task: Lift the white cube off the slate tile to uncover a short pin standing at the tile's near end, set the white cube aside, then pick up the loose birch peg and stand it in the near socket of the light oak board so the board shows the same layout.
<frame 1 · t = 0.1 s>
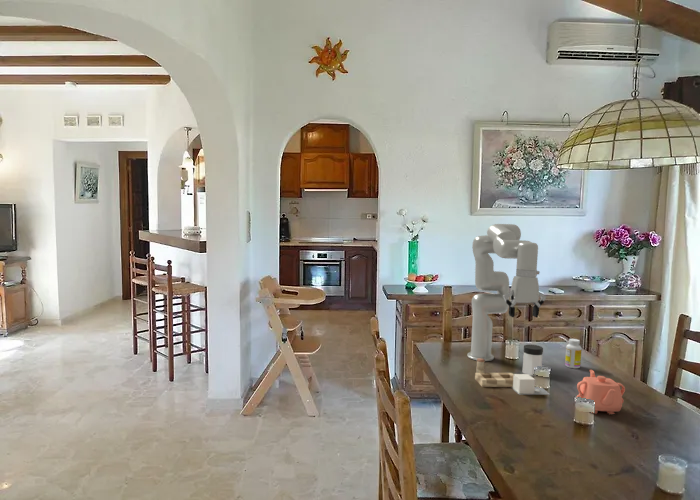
hand: (523, 316, 202), 31 cm above the table, tool pointing down, fingers open, 9 cm apart
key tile: (530, 391, 207), on the table
peg: (479, 377, 221), on the table
peg board: (496, 383, 215), on the table
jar: (531, 373, 229), on the table
supplement bottle: (572, 367, 240), on the table
white cube: (523, 390, 206), resting on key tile
teapot: (599, 410, 190), on the table
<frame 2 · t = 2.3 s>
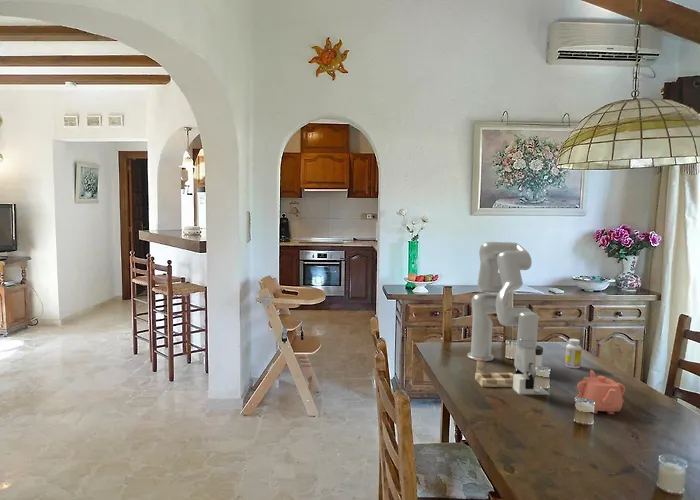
hand: (524, 384, 206), 3 cm above the table, tool pointing down, fingers open, 9 cm apart
nothing on the table moved.
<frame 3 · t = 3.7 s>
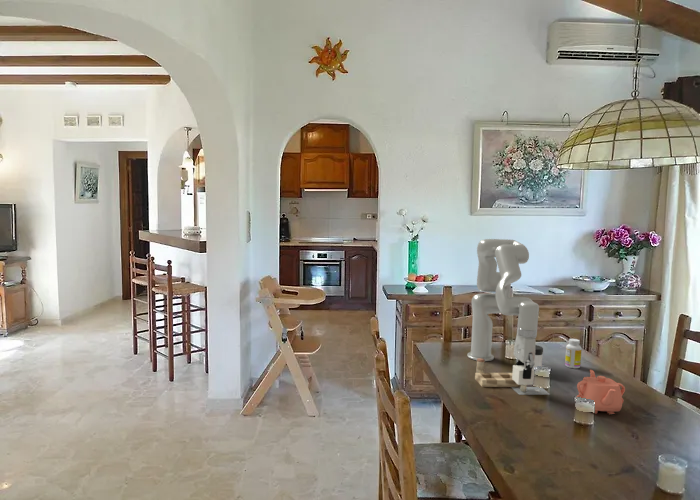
hand: (523, 375, 207), 6 cm above the table, tool pointing down, fingers closed on white cube, 6 cm apart
white cube: (522, 381, 207), point 4 cm above the table, touching gripper
everything else where it was.
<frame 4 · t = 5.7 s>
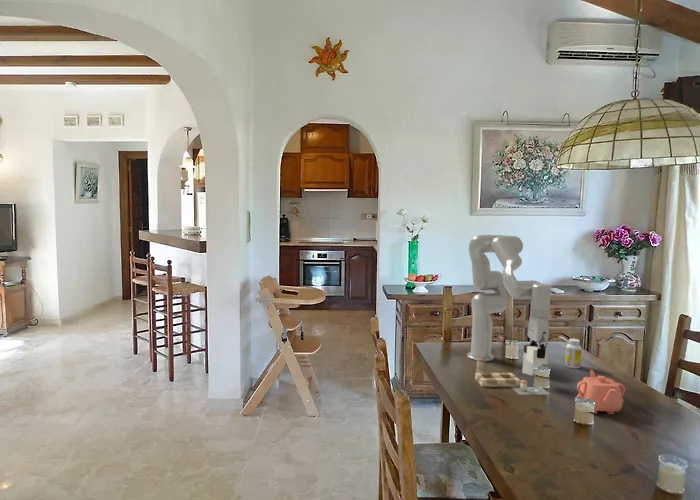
hand: (537, 355, 213), 13 cm above the table, tool pointing down, fingers closed on white cube, 6 cm apart
white cube: (536, 361, 214), point 10 cm above the table, touching gripper
everything else where it was.
when the fingers open (3 cm above the table, at t = 7.9 s): white cube stays where it is, on the table.
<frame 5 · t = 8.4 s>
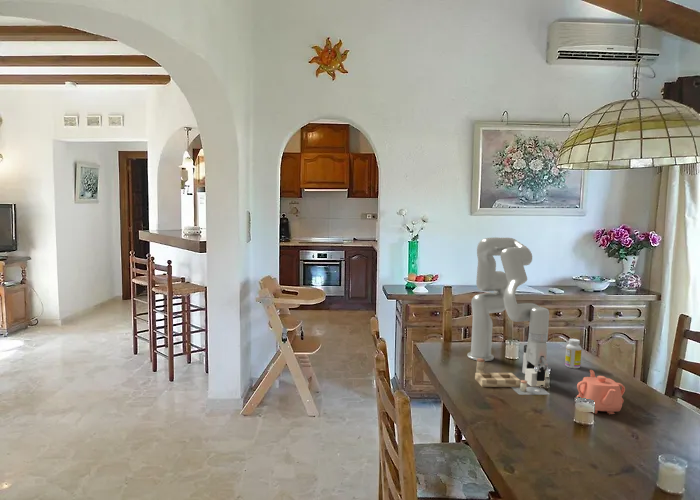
hand: (535, 376, 215), 3 cm above the table, tool pointing down, fingers open, 9 cm apart
white cube: (534, 384, 215), on the table
everything else where it was.
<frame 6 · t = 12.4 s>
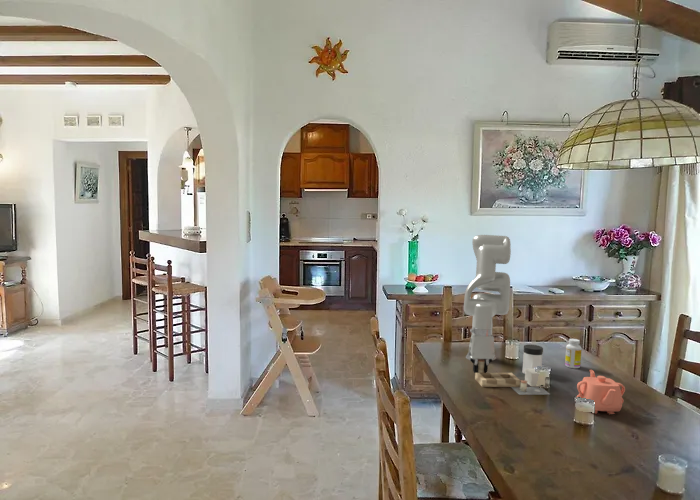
hand: (480, 373, 221), 2 cm above the table, tool pointing down, fingers closed on peg, 3 cm apart
peg: (479, 377, 221), on the table, touching gripper
everything else where it was.
when the fingers open (4 cm above the table, at t = 17.1 s): peg drops 2 cm, resting in peg board.
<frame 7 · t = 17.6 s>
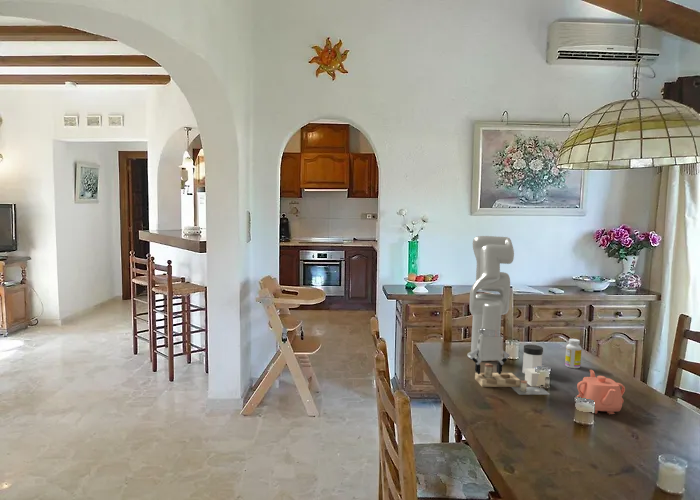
hand: (488, 372, 214), 4 cm above the table, tool pointing down, fingers open, 8 cm apart
peg: (487, 383, 214), resting in peg board
everything else where it was.
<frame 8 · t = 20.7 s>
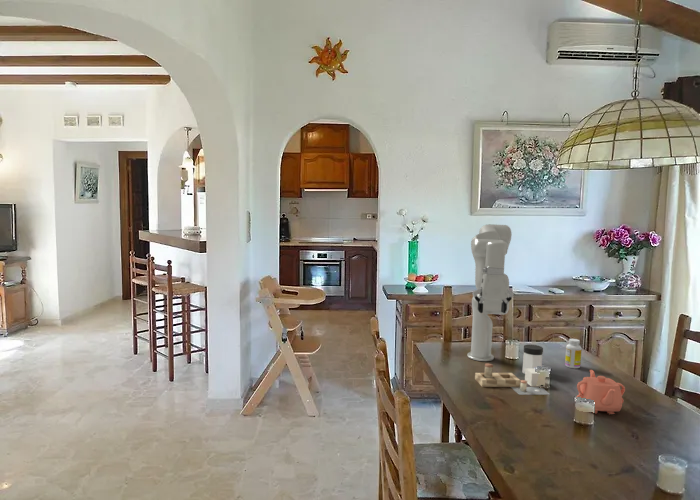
hand: (491, 312, 211), 30 cm above the table, tool pointing down, fingers open, 9 cm apart
nothing on the table moved.
at the end: peg 0.1 cm from the target spot on the peg board, point 0.0 cm above the peg board's base; peg tilted 0°; white cube moved 11.6 cm from its start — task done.
